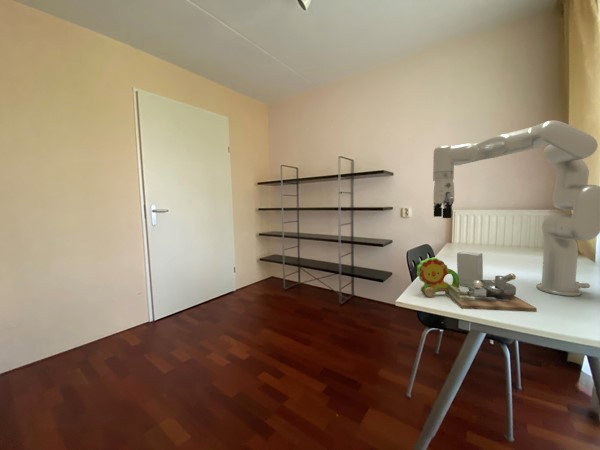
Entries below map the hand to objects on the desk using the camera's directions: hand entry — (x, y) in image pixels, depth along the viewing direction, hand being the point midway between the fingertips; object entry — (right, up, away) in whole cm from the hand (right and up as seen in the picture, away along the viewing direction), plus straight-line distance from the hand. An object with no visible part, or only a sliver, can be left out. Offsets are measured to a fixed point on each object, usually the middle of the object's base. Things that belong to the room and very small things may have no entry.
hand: (442, 217), depth 107 cm
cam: (+16, -30, -10) cm, 35 cm away
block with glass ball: (+6, -31, -13) cm, 33 cm away
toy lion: (-5, -32, -6) cm, 33 cm away
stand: (+9, -32, -13) cm, 36 cm away
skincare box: (+15, -30, +5) cm, 34 cm away
